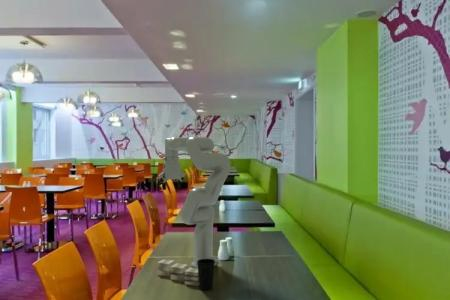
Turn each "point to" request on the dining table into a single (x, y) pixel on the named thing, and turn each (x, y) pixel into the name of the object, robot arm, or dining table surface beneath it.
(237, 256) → the dining table surface
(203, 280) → the cup
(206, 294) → the dining table surface
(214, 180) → the robot arm
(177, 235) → the dining table surface
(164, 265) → the plain block
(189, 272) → the banded block two
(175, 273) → the banded block one
